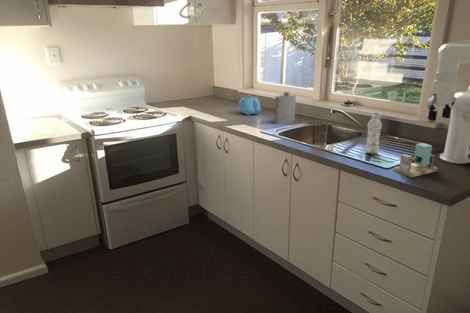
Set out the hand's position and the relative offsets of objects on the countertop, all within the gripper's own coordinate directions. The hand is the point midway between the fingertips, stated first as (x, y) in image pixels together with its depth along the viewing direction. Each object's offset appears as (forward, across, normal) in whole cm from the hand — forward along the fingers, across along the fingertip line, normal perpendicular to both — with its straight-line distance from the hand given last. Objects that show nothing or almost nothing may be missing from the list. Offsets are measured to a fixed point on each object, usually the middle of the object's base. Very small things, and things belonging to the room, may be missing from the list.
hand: (438, 118), depth 155 cm
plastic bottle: (+22, +9, -26) cm, 35 cm away
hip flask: (+22, +10, -101) cm, 104 cm away
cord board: (+22, +10, 0) cm, 24 cm away
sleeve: (+19, +7, 0) cm, 20 cm away
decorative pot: (+22, +19, -135) cm, 138 cm away
